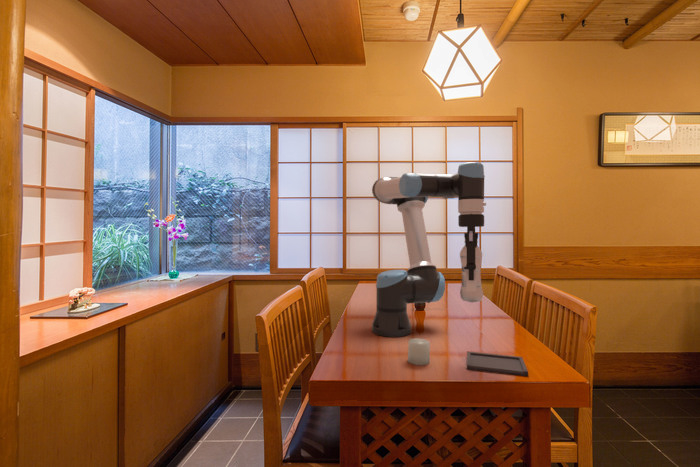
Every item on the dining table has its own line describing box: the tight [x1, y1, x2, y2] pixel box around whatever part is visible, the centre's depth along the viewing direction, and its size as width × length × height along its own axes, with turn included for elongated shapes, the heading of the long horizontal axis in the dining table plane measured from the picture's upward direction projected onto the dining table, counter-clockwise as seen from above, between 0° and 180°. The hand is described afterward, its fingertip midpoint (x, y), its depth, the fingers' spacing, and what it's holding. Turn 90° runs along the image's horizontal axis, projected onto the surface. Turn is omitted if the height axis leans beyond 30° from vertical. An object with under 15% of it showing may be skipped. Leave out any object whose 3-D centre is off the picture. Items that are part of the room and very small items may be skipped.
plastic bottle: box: [459, 240, 484, 303], centre depth 114 cm, size 6×7×20 cm
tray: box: [466, 351, 529, 377], centre depth 110 cm, size 16×12×1 cm
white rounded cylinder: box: [407, 338, 431, 366], centre depth 113 cm, size 6×6×6 cm
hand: (471, 289), depth 114 cm, fingers closed on plastic bottle, 6 cm apart
